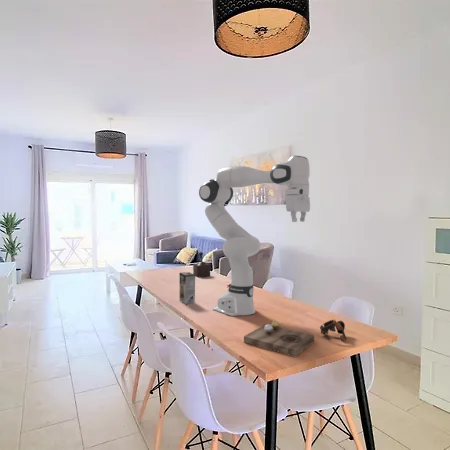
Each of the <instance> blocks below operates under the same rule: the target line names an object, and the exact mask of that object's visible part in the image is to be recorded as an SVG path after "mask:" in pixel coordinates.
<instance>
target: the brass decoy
mask: <svg viewBox="0 0 450 450" xmlns="http://www.w3.org/2000/svg"><path fill="white" fill-rule="evenodd" d="M270 325H271V326H272V328H273V329H277V328H278V327H280V323H279V321H278V320H272V321H271V323H270Z"/></svg>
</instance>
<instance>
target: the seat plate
mask: <svg viewBox="0 0 450 450" xmlns="http://www.w3.org/2000/svg"><path fill="white" fill-rule="evenodd" d="M267 324H268V323H267ZM267 324H266V323H265V324H264V325H262V326H259V327H258V328H256V329H254V330H253V331H250V332H248V334H246V335H244V336H243V343H244V342H245V344H248V343H249V344H248V345H251V344H252V346H256V347H259V346H260V347H259V348H262V347H263V349H266V348H267V349H266V350H269V349H271V350H270V351H273V350H275V351H274V352H277V351H279V352H278V353H280V352H283V353H282V354H284V353H286V354H285V355H287V354H290V355H289V356H291V355H293V356H292V357H295V356H296V357H297V356H298V354H299V353H300V352H301V351H302V350H303V351H305V350H306V349H307V348H308V347H310V346H311V345H312V344H313V343H314V342H315V334H311V333H305V332H301V331H298V330H293V329H288V328H285V327H284V328H283V327H280V326H279V327H278V328H277V329H273V330H272V332H271V333H266V332H265V331H264V327H265V325H267ZM312 342H313V343H312ZM311 343H312V344H311ZM307 346H308V347H307ZM306 347H307V348H306ZM305 348H306V349H305ZM303 351H302V352H303ZM302 352H301V353H302ZM301 353H300V354H301Z"/></svg>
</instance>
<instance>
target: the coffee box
mask: <svg viewBox="0 0 450 450" xmlns="http://www.w3.org/2000/svg"><path fill="white" fill-rule="evenodd" d="M179 301H180V302H181V303H183V304H184V305H188V304H195V302H196V276H195V275H194V274H193V273H192V272H189V271H186V272H179Z"/></svg>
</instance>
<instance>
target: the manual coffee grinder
mask: <svg viewBox="0 0 450 450" xmlns="http://www.w3.org/2000/svg"><path fill="white" fill-rule="evenodd" d="M198 255H199V257H198V258H197V260H200V259H201V260H200V261H199V262H198V263H193V265H192V266H193V268H192V271H193V273H192V274H194V275H195V278H196V277H197V278H200V279H201V278H207V277H211V264H209V263H208V262H206V261H203V258H204V256H203V255H204V253H203V252H202V251H200V252H198Z"/></svg>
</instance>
